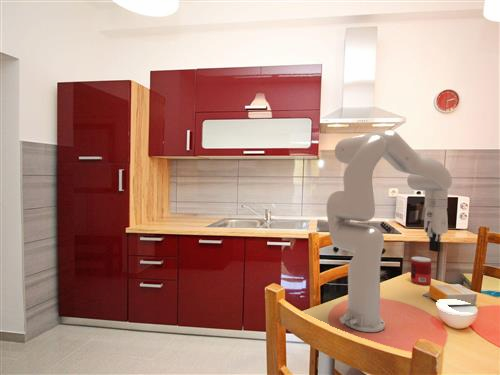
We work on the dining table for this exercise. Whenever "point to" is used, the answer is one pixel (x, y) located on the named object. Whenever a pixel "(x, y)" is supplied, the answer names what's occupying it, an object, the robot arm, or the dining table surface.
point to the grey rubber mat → (427, 295)
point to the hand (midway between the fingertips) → (434, 250)
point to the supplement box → (452, 293)
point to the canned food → (421, 270)
